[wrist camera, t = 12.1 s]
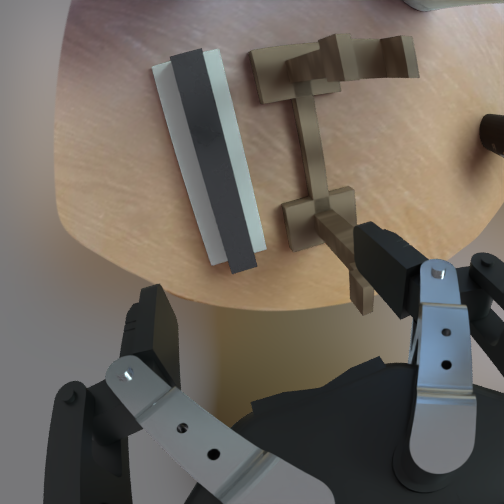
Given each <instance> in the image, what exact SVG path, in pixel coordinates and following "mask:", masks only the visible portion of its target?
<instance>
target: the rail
mask: <svg viewBox="0 0 504 504" xmlns="http://www.w3.org/2000/svg"><path fill="white" fill-rule="evenodd" d="M170 59H171V63H172V67H173V71H174V75H175V78H176V82H177V86H178V90H179V94H180V97H181V101H182V105H183V108H184V112H185V116H186V119H187V123H188V127H189V130H190V134H191V137H192V141H193V144H194V148H195V151H196V155H197V159H198V162H199V166H200V169H201V172H202V176H203V179H204V183H205V186H206V190H207V193H208V197H209V200H210V203H211V207H212V210H213V213H214V217H215V220H216V223H217V227H218V230H219V233H220V237H221V240H222V243H223V247H224V250H225V253H226V256H227V260H228V263H229V266H230V269H231V272H232V274H234V273H238V272H241V271H244V270H247V269H251V268H254V267H257V263H256V259H255V255H254V251H253V247H252V243H251V239H250V235H249V231H248V227H247V223H246V219H245V216H244V212H243V208H242V204H241V200H240V196H239V192H238V188H237V184H236V180H235V176H234V172H233V168H232V164H231V161H230V157H229V153H228V149H227V145H226V141H225V137H224V133H223V129H222V125H221V121H220V117H219V114H218V110H217V106H216V102H215V98H214V94H213V90H212V86H211V82H210V78H209V74H208V71H207V67H206V63H205V59H204V55H203V51H202V48H201V49H197V50H193V51H189V52H186V53H182V54H178V55H175V56H171V57H170Z"/></svg>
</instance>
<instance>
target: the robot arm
mask: <svg viewBox="0 0 504 504" xmlns="http://www.w3.org/2000/svg"><path fill="white" fill-rule="evenodd" d="M403 1H404V2H405V3H407V4H408V5H409V6H411V7H412V8H414V9H416V10H420V11H431V10H439V9H444V8H451V7H459V6H468V5H478V4H493V3H504V0H403ZM353 241H354V260H355V264H356V267H357V269H358V271H359V272H360V274H361V275H362V276H363V277H364V278H365V279H366V280H367V281H368V283H369V284H370V285H371V286H372V287H373V288H374V289H375V291H376V292H377V293H378V294H379V295H380V296H381V297H382V298H383V300H384V301H385V302H386V303H387V304H388V305H389V307H390V308H391V309H392V310H393V311H394V313H395V314H396V315H397V316H398V317H399V318H400V319H403V318H405V317H407V316H410V315H411V316H412V317H413V321H412V328H411V340H410V350H409V358H408V363H388V364H384V362H383V361H382V359H381V358H380V356H378V357H376V358H374V359H371V360H369V361H367V362H364V363H362V364H359V365H357V366H355V367H352V368H350V369H348V370H347V371H346V372H344V373H343V374H341V375H340V376H338V377H337V378H335V379H334V380H332V381H331V382H329V383H328V384H326V385H325V386H323V387H320V388H315V389H308V390H299V391H291V392H283V393H280V394H276V395H273V396H270V397H267V398H263V399H260V400H256V401H253V402H251V405H252V409H253V412H251V413H249V414H247V415H246V416H244V417H243V418H241V419H240V420H239V421H238V422H236V423H235V424H234V425H233V426H232V427H231V428H228V427H227V426H226V425H224V424H223V423H222V422H220V421H219V420H217V419H216V418H215V417H214V416H212V415H211V414H210V413H208V412H207V411H206V410H204V409H203V408H202V407H200V406H199V405H198V404H197V403H195V402H194V401H193V400H191V399H190V398H189V397H188V396H186V395H185V394H184V393H183V392H182V391H181V383H180V365H179V338H178V323H177V319H176V316H175V314H174V311H173V309H172V307H171V305H170V303H169V301H168V299H167V297H166V294H165V292H164V290H163V288H162V286H161V285H160V284H156V285H152V286H149V287H146V288H142V289H141V293H140V299H139V303H135V304H133V305H132V307H131V308H130V310H129V311H128V313H127V317H126V321H125V324H126V325H125V327H124V333H123V339H122V345H121V351H120V357H119V359H117V360H116V361H114V362H113V363H112V364H111V365H110V366H109V368H108V370H107V372H106V376H105V380H103V381H101V382H99V383H97V384H95V385H93V386H91V387H89V388H86V387H85V385H84V384H83V383H81V382H79V381H72V382H69V383H67V384H65V385H64V386H63V387H62V388H61V389H60V390H59V391H58V393H57V394H56V397H55V401H54V406H53V412H52V418H51V424H50V431H49V438H48V447H47V456H46V467H45V479H44V500H43V504H133V503H132V493H131V482H130V469H129V451H128V436H129V435H131V434H133V433H135V432H137V431H140V430H142V429H144V430H145V431H146V432H147V433H148V434H149V435H150V436H151V437H152V438H153V439H154V440H155V441H156V442H157V443H158V444H159V446H161V447H162V449H163V450H164V451H165V452H166V453H167V454H168V455H169V456H170V457H172V458H173V459H174V460H175V461H176V462H177V463H178V464H179V465H180V466H181V467H182V468H183V469H184V470H185V471H186V472H187V473H189V474H190V475H191V476H192V477H193V478H194V479H195V480H196V481H198V482H197V483H196V485H195V487H194V488H193V490H192V492H191V493H190V495H189V496H188V498H187V500H186V501H185V503H184V504H504V393H501V392H498V391H495V390H491V389H488V388H484V387H482V386H478V385H475V384H472V355H471V338H470V335H471V336H472V337H473V338H474V340H475V341H476V342H477V343H478V344H479V346H480V347H481V348H482V349H483V351H484V352H485V353H486V354H487V356H488V357H489V358H490V360H491V361H492V362H493V364H494V365H495V366H496V367H497V369H498V370H499V371H500V373H501V374H502V375H503V377H504V322H503V321H502V320H501V319H500V317H499V316H498V315H497V314H496V313H495V312H494V311H493V310H492V309H491V305H492V301H493V300H494V301H495V302H496V303H497V304H498V305H500V307H501V308H502V309H503V310H504V263H503V262H502V261H501V260H500V259H498V258H497V257H496V256H494V255H492V254H489V253H476V254H474V255H473V256H472V258H471V263H470V266H468V267H461V268H455V267H454V266H453V265H452V264H451V263H449V262H447V261H445V260H441V259H430V260H429V259H427V258H426V257H425V256H424V255H422V254H421V253H420V252H419V251H418V250H416V249H415V248H414V247H413V246H411V245H409V243H407V242H406V241H405V240H403V239H402V238H401V237H400V236H398V235H397V234H396V233H394V232H391V231H388V230H386V229H384V230H382V229H381V228H380V227H378V226H377V225H376V224H374V223H373V222H371V221H370V222H366V223H363V224H360V225H356V226H354V228H353Z"/></svg>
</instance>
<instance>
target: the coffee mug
mask: <svg viewBox="0 0 504 504" xmlns="http://www.w3.org/2000/svg"><path fill="white" fill-rule="evenodd" d="M480 139H481V142H482V145H483V146H484V147H485V148H486V149H488V150H490V151H492V152H494V153H496V154H498V155H499V156H501V157H503V158H504V115H495V114H487V115H485V116H484V117H483V119H482V121H481V125H480Z"/></svg>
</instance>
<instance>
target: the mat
mask: <svg viewBox="0 0 504 504" xmlns="http://www.w3.org/2000/svg"><path fill="white" fill-rule="evenodd" d="M203 55H204V59H205V63H206V67H207V71H208V74H209V78H210V82H211V86H212V90H213V94H214V98H215V102H216V106H217V110H218V114H219V117H220V121H221V125H222V129H223V133H224V137H225V141H226V145H227V149H228V153H229V157H230V161H231V164H232V168H233V172H234V176H235V180H236V184H237V188H238V192H239V196H240V200H241V204H242V208H243V212H244V216H245V219H246V223H247V227H248V231H249V235H250V239H251V243H252V247H253V251H254V253H256V252H259V251H263V250H266V249H267V248H266V244H265V239H264V235H263V231H262V226H261V222H260V217H259V213H258V209H257V204H256V200H255V196H254V191H253V187H252V183H251V179H250V174H249V170H248V166H247V162H246V157H245V153H244V149H243V145H242V141H241V136H240V132H239V128H238V124H237V120H236V116H235V112H234V107H233V103H232V99H231V95H230V91H229V87H228V83H227V79H226V75H225V71H224V67H223V63H222V59H221V55H220V51H219V49H215V50H210V51H206V52H203ZM152 70H153V74H154V78H155V82H156V86H157V89H158V93H159V97H160V100H161V104H162V108H163V111H164V115H165V118H166V122H167V125H168V129H169V132H170V136H171V139H172V143H173V146H174V150H175V153H176V156H177V160H178V163H179V166H180V170H181V173H182V176H183V179H184V183H185V186H186V189H187V192H188V195H189V199H190V202H191V205H192V208H193V211H194V214H195V217H196V220H197V224H198V227H199V230H200V233H201V236H202V239H203V242H204V245H205V248H206V251H207V254H208V257H209V260H210V263H211V265H212V266H213V265H216V264H219V263H223V262H226V261H228V260H227V256H226V253H225V250H224V247H223V243H222V240H221V237H220V233H219V230H218V227H217V223H216V220H215V217H214V213H213V210H212V207H211V203H210V200H209V197H208V193H207V190H206V186H205V183H204V179H203V176H202V172H201V169H200V166H199V162H198V159H197V155H196V151H195V148H194V144H193V141H192V137H191V134H190V130H189V127H188V123H187V119H186V116H185V112H184V108H183V105H182V101H181V97H180V94H179V90H178V86H177V82H176V78H175V75H174V71H173V67H172V63H171V61H169V62H165V63H162V64H159V65H156V66H152Z"/></svg>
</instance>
